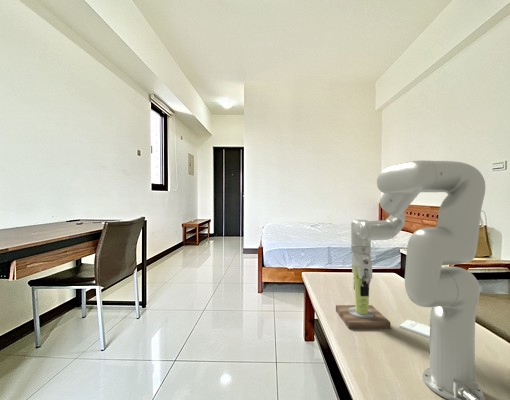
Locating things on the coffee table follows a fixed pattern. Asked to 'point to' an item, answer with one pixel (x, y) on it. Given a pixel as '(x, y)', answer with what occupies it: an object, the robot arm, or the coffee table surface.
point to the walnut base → (362, 318)
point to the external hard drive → (416, 328)
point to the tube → (360, 301)
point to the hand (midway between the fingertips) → (361, 292)
